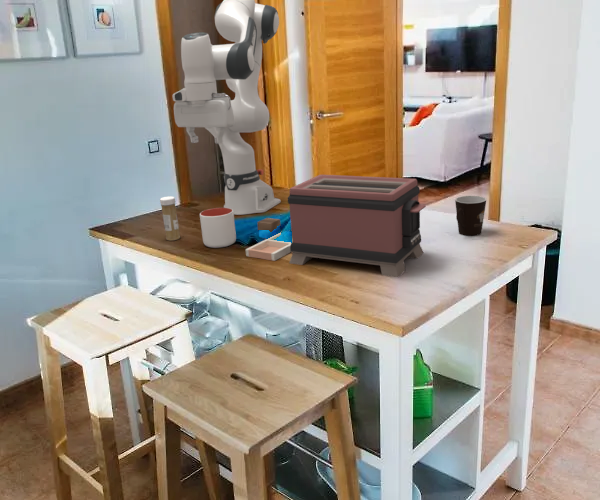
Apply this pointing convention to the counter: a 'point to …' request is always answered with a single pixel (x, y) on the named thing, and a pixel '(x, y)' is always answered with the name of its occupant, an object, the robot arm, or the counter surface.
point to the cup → (218, 227)
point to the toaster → (356, 221)
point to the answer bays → (269, 249)
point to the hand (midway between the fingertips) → (206, 143)
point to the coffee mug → (470, 214)
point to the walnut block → (268, 224)
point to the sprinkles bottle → (170, 218)
